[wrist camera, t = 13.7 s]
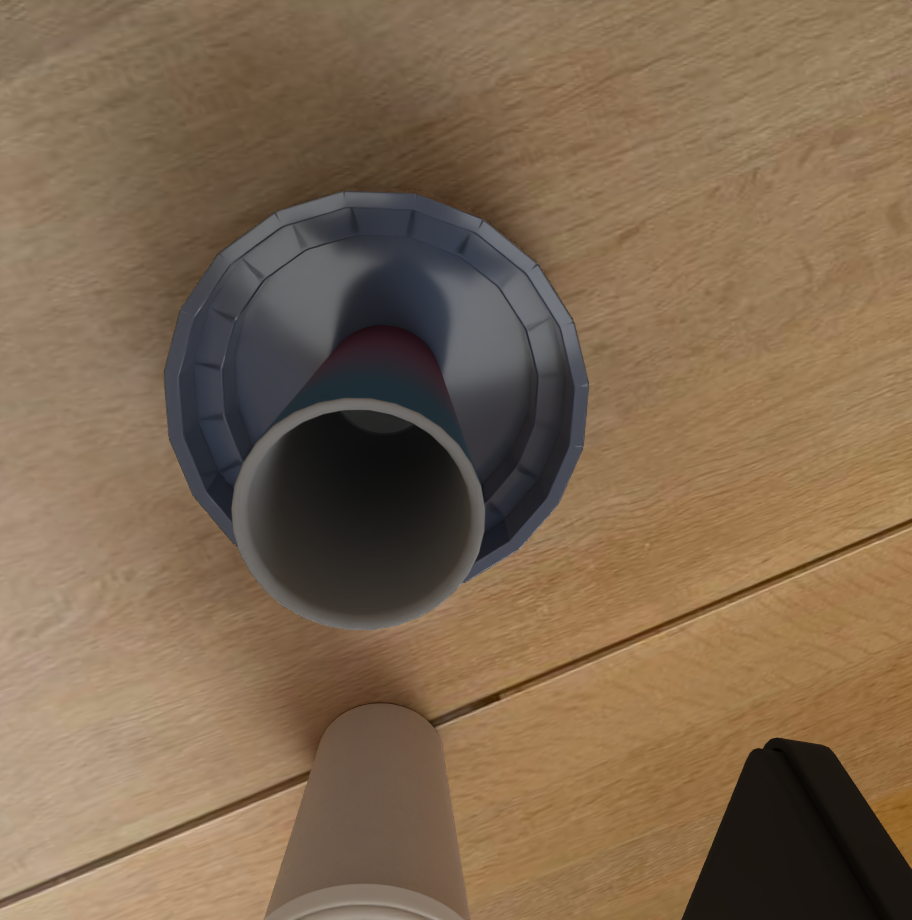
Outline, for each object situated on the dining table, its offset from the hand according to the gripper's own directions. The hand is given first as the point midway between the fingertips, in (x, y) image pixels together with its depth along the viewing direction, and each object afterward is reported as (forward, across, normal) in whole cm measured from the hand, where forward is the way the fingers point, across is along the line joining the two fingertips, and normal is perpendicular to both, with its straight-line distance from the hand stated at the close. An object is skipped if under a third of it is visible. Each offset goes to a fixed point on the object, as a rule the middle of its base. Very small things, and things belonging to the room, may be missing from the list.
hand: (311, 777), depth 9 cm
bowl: (+29, 0, +4) cm, 29 cm away
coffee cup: (+29, -4, +23) cm, 37 cm away
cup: (+29, 0, +4) cm, 29 cm away
